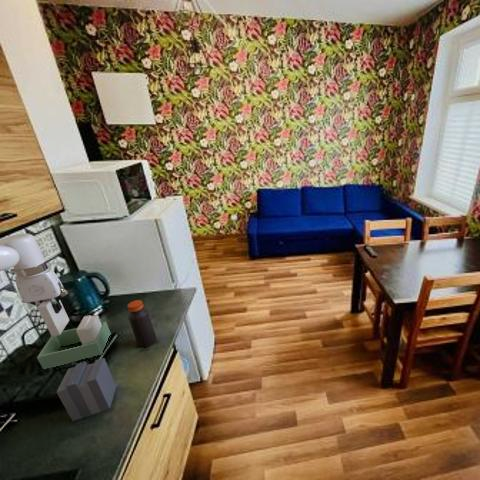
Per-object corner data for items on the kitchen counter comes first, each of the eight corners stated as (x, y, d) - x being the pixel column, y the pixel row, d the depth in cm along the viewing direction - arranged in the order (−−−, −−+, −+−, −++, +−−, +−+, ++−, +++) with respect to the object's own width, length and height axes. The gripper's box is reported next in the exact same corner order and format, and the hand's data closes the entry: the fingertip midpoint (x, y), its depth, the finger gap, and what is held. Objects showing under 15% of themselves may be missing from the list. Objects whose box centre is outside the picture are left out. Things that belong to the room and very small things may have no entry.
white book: (51, 336, 98) (37, 307, 92) (61, 321, 105) (48, 294, 100) (60, 334, 98) (46, 306, 93) (69, 320, 106) (56, 292, 101)
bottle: (143, 337, 115) (130, 299, 108) (159, 336, 116) (148, 298, 108) (134, 349, 109) (120, 309, 101) (152, 348, 110) (139, 308, 102)
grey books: (72, 421, 82) (54, 389, 77) (82, 396, 90) (67, 366, 84) (109, 409, 86) (95, 377, 80) (116, 386, 93) (103, 356, 88)
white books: (87, 356, 105) (75, 330, 100) (94, 341, 113) (83, 316, 108) (101, 352, 107) (90, 327, 102) (107, 338, 114) (97, 313, 109)
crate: (45, 373, 99) (36, 357, 96) (60, 347, 110) (53, 333, 107) (102, 357, 105) (96, 342, 102) (111, 335, 117) (106, 321, 114)
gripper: (-7, 279, 86) (19, 324, 93) (57, 269, 92) (77, 312, 99) (7, 269, 92) (30, 312, 99) (66, 260, 98) (83, 301, 105)
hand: (53, 312), depth 99 cm, fingers closed on white book, 2 cm apart
